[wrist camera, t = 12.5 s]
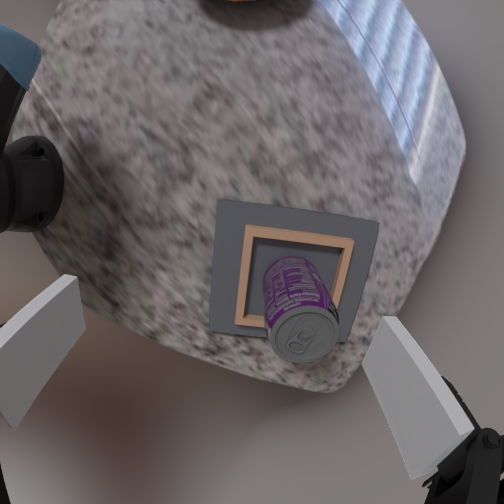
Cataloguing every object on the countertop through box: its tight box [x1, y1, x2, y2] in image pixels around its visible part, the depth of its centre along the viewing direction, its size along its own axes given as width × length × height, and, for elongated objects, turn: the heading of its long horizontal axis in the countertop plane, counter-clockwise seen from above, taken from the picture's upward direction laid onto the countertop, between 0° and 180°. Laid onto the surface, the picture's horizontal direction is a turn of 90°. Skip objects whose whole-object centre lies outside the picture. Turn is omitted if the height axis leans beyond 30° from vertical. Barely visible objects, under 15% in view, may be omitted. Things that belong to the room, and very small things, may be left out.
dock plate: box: [209, 199, 380, 342], centre depth 34 cm, size 20×18×2 cm
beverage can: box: [263, 256, 339, 363], centre depth 28 cm, size 7×7×12 cm
